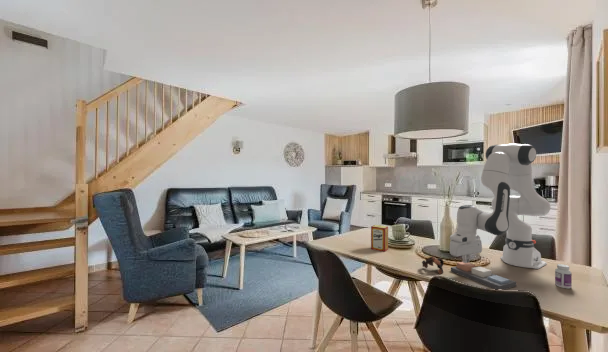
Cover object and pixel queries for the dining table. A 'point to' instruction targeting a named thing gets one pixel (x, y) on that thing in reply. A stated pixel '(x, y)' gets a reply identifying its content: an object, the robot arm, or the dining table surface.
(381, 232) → the baking soda box
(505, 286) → the button panel
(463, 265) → the terracotta button
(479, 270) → the cream button
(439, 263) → the brown black arched toy
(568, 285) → the pill bottle
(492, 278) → the slate button
